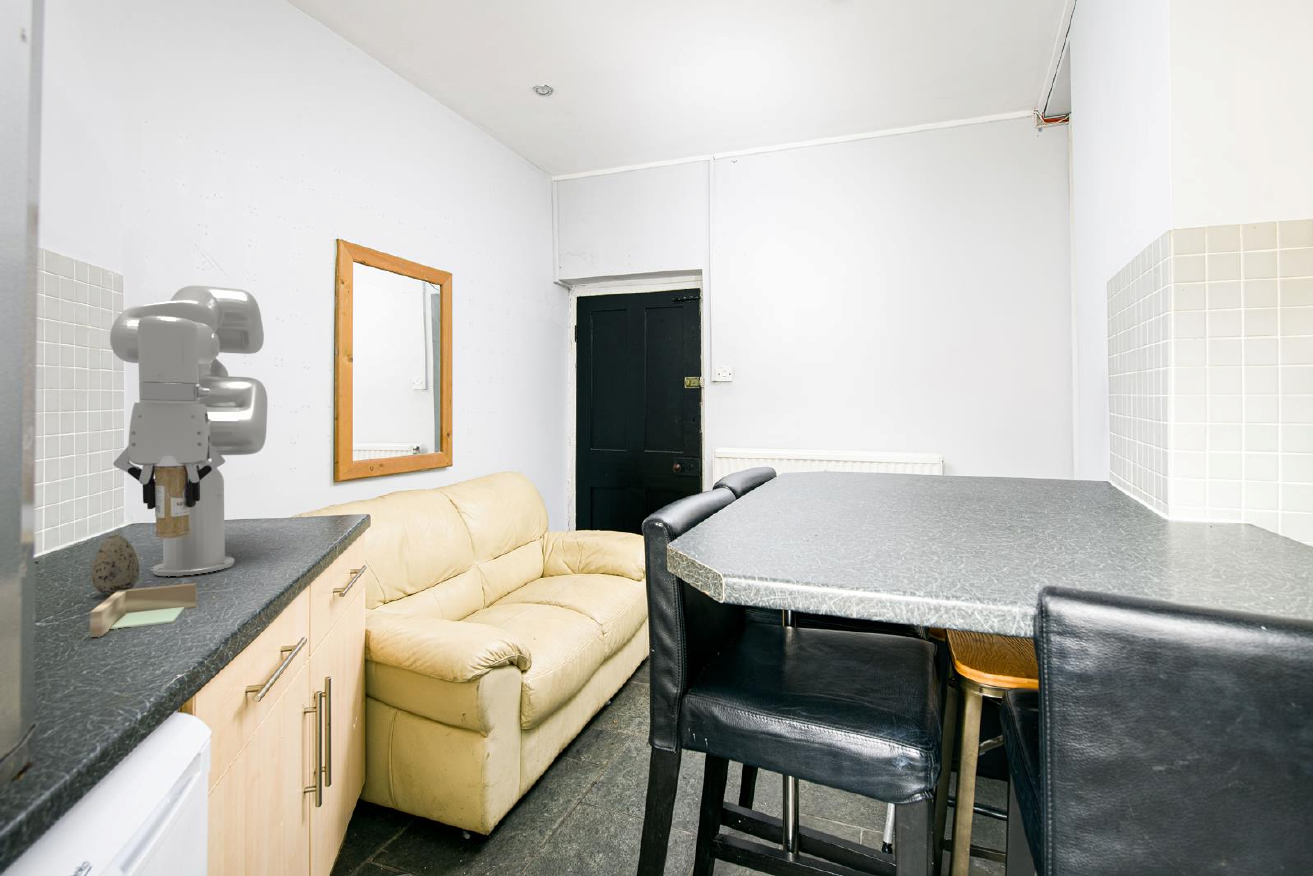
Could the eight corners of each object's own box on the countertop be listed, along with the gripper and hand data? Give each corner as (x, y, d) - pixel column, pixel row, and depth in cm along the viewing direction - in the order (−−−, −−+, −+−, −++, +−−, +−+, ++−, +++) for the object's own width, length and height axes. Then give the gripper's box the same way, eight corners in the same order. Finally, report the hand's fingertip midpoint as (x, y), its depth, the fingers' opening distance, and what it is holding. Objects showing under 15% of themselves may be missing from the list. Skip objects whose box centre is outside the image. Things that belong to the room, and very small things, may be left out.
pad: (126, 615, 91) (126, 613, 91) (184, 608, 94) (184, 607, 94) (110, 629, 84) (110, 627, 84) (173, 622, 88) (173, 620, 88)
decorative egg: (141, 595, 101) (140, 535, 101) (92, 602, 97) (91, 540, 96) (138, 587, 105) (137, 530, 105) (91, 594, 101) (89, 534, 101)
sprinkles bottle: (189, 536, 98) (187, 454, 97) (152, 539, 96) (150, 455, 95) (191, 531, 102) (190, 451, 101) (156, 534, 99) (155, 452, 99)
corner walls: (118, 613, 91) (118, 590, 91) (197, 604, 96) (196, 583, 96) (90, 638, 81) (89, 612, 81) (179, 627, 86) (179, 603, 86)
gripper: (236, 395, 105) (238, 500, 106) (109, 393, 97) (112, 506, 98) (229, 395, 98) (231, 507, 99) (92, 392, 90) (96, 514, 91)
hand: (172, 505), depth 99 cm, fingers closed on sprinkles bottle, 4 cm apart
